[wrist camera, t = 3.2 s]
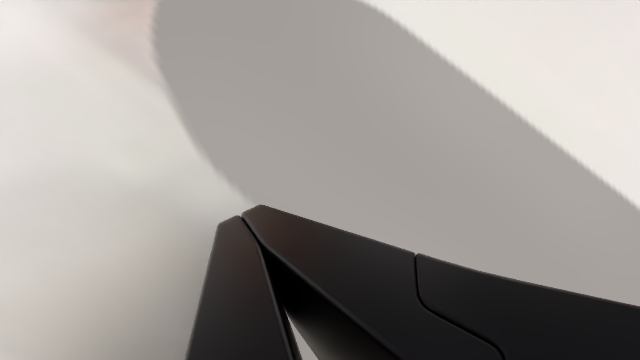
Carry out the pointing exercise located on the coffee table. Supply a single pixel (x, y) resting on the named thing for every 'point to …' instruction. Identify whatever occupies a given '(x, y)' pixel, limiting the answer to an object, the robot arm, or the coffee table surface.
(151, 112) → the coffee table surface
